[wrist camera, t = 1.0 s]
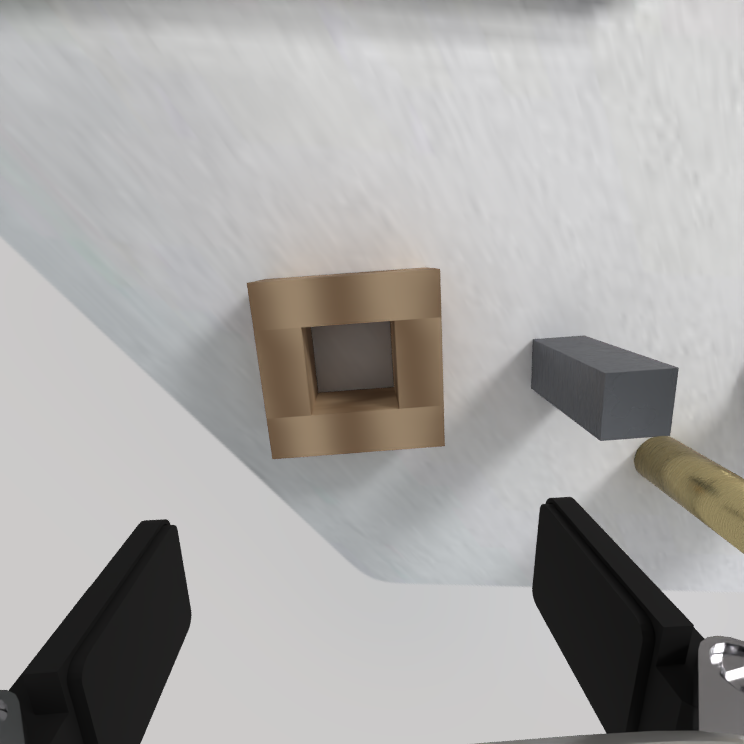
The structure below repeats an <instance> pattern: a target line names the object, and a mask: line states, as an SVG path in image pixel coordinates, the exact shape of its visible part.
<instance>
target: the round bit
mask: <svg viewBox="0 0 744 744" xmlns="http://www.w3.org/2000/svg"><path fill="white" fill-rule="evenodd" d="M634 463H635V467H636V470H637V471H638V472H639V473H640V474H641V475H642V476H643V477H645V478H646V479H647V480H648V481H650V482H651V483H652V484H654V485H655V486H656V487H658V488H659V489H660V490H662V491H663V492H664V493H665V494H667V495H668V496H669V497H671V498H672V499H673V500H675V501H676V502H677V503H678V504H680V505H681V506H682V507H684V508H685V509H686V510H688V511H689V512H690V513H691V514H693V515H694V516H695V517H697V518H698V519H699V520H701V521H702V522H703V523H704V524H706V525H707V526H708V527H710V528H711V529H712V530H714V531H715V532H716V533H717V534H719V535H720V536H721V537H723V538H724V539H725V540H727V541H728V542H729V543H731V544H732V545H733V546H734V547H736V548H737V549H738V550H740V551H741V552H742V553H744V479H743V478H742V477H740V476H738V475H736V474H735V473H733V472H731V471H729V470H728V469H726V468H724V467H722V466H721V465H719V464H717V463H715V462H714V461H712V460H710V459H708V458H707V457H705V456H703V455H701V454H700V453H698V452H696V451H694V450H693V449H691V448H689V447H687V446H686V445H684V444H682V443H680V442H679V441H677V440H675V439H673V438H672V437H669V436H657V437H653V438H650V439H648V440H647V441H645V442H644V443H643V444H642V445H641V446H640V447H639V449H638V450H637V452H636V455H635V459H634Z"/></svg>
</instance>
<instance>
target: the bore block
mask: <svg viewBox="0 0 744 744" xmlns="http://www.w3.org/2000/svg"><path fill="white" fill-rule="evenodd" d="M247 288H248V295H249V301H250V308H251V315H252V322H253V329H254V336H255V342H256V349H257V356H258V363H259V370H260V377H261V383H262V390H263V397H264V404H265V411H266V418H267V425H268V431H269V438H270V445H271V452H272V459H281V458H294V457H308V456H321V455H334V454H347V453H360V452H373V451H386V450H399V449H412V448H426V447H439V446H445V437H444V400H443V362H442V325H441V287H440V269H436V268H428V267H427V268H414V269H400V270H386V271H372V272H359V273H345V274H331V275H318V276H304V277H290V278H277V279H264V280H259V281H255V282H250V283H247ZM383 321H390V331H391V348H392V365H393V382H394V387H387V388H374V389H360V390H347V391H334V392H320V393H318V386H317V377H316V367H315V358H314V349H313V340H312V331H311V327H315V326H328V325H342V324H356V323H369V322H383Z"/></svg>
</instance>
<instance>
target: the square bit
mask: <svg viewBox="0 0 744 744" xmlns="http://www.w3.org/2000/svg"><path fill="white" fill-rule="evenodd" d="M678 369H679V368H678V367H675V366H672V365H669V364H666V363H663V362H660V361H657V360H654V359H651V358H648V357H645V356H642V355H639V354H636V353H634V352H631V351H628V350H625V349H622V348H619V347H616V346H613V345H610V344H607V343H604V342H601V341H598V340H595V339H592V338H590V337H587V336H572V337H559V338H545V339H533V349H532V381H531V389H533V390H534V391H535V392H537V393H538V394H539V395H541V396H542V397H543V398H544V399H546V400H547V401H548V402H550V403H551V404H552V405H554V406H555V407H556V408H558V409H559V410H560V411H562V412H563V413H564V414H566V415H567V416H568V417H570V418H571V419H572V420H574V421H575V422H576V423H577V424H579V425H580V426H581V427H583V428H584V429H585V430H587V431H588V432H589V433H591V434H592V435H593V436H595V437H596V438H597V439H599V440H600V441H604V440H618V439H631V438H644V437H657V436H670V432H671V424H672V416H673V408H674V400H675V392H676V384H677V377H678Z"/></svg>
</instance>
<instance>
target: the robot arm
mask: <svg viewBox="0 0 744 744" xmlns="http://www.w3.org/2000/svg"><path fill="white" fill-rule="evenodd" d="M532 589H533V590H532V592H533V598H534V601H535V603H536V606H537V608H538V609H539V611H540V613H541V615H542V617H543V618H544V620H545V622H546V624H547V626H548V628H549V629H550V631H551V633H552V635H553V637H554V638H555V640H556V642H557V644H558V646H559V648H560V649H561V651H562V653H563V655H564V657H565V658H566V660H567V662H568V664H569V666H570V668H571V669H572V671H573V673H574V675H575V677H576V678H577V680H578V682H579V684H580V686H581V687H582V689H583V691H584V693H585V695H586V697H587V698H588V700H589V702H590V704H591V706H592V708H593V709H594V711H595V713H596V715H597V717H598V718H599V720H600V722H601V724H602V726H603V727H604V729H605V731H606V733H607V734H593V735H577V736H565V737H552V738H540V739H527V740H514V741H502V742H490V743H477V744H744V641H741V640H738V639H734V638H731V637H724V636H713V637H707V638H706V639H704V638H703V637H702V636H701V635H700V634H699V632H698V631H697V630H696V629H695V628H694V627H693V626H694V625H693V624H692V623H691V622H690V621H689V620H688V619H687V618H686V617H685V615H684V614H683V613H682V612H681V611H680V610H679V609H678V608H677V607H676V606H675V605H674V604H673V603H672V602H671V601H670V600H669V599H668V598H667V597H666V595H664V593H663V592H662V591H661V590H660V589H659V588H658V587H657V586H656V585H655V584H654V583H653V582H652V581H651V580H650V579H649V578H648V576H647V575H646V574H645V573H644V572H643V571H642V570H641V569H640V568H639V567H638V566H637V565H636V564H635V563H634V562H633V561H632V560H631V559H630V558H629V556H628V555H627V554H626V553H625V552H624V551H623V550H622V549H621V548H620V547H619V546H618V545H617V544H616V543H615V542H614V541H613V540H612V539H611V538H610V536H609V535H608V534H607V533H606V532H605V531H604V530H603V529H602V528H601V527H600V526H599V525H598V524H597V523H596V522H595V521H594V520H593V519H592V518H591V516H590V515H589V514H588V513H587V512H586V511H585V510H584V509H583V508H582V507H581V506H580V505H579V504H578V503H577V502H576V501H575V500H574V499H573V498H572V497H561V498H549V499H547V501H546V504H542V505H541V507H540V513H539V524H538V534H537V545H536V555H535V566H534V576H533V587H532ZM190 622H191V607H190V602H189V595H188V590H187V583H186V577H185V572H184V566H183V560H182V554H181V548H180V542H179V536H178V530H177V527H176V526H175V525H170V523H169V521H168V520H166V519H165V520H149V521H148V520H146V521H142V522H141V523H140V524H139V525H138V526H137V527H136V529H135V530H134V531H133V532H132V534H131V535H130V536H129V538H128V539H127V540H126V541H125V543H124V544H123V545H122V547H121V548H120V549H119V551H118V552H117V553H116V554H115V556H114V557H113V558H112V560H111V561H110V562H109V563H108V565H107V566H106V567H105V568H104V570H103V571H102V572H101V574H100V575H99V576H98V578H97V579H96V580H95V581H94V582H93V584H92V585H91V586H90V587H89V588H88V590H87V591H86V592H85V593H84V595H83V596H82V597H81V598H80V600H79V601H78V602H77V604H76V605H75V606H74V607H73V609H72V610H71V611H70V613H69V614H68V615H67V616H66V618H65V619H64V620H63V622H62V623H61V624H60V625H59V627H58V628H57V629H56V631H55V632H54V633H53V634H52V636H51V637H50V638H49V640H48V641H47V642H46V644H45V645H44V646H43V647H42V649H41V650H40V651H39V652H38V654H37V655H36V656H35V657H34V659H33V660H32V661H31V663H30V664H29V665H28V666H27V668H26V669H25V670H24V672H23V673H22V674H21V675H20V677H19V678H18V679H17V681H16V682H15V683H14V684H13V686H12V687H11V688H10V690H9V691H8V690H0V744H140V743H141V741H142V738H143V736H144V734H145V731H146V729H147V727H148V724H149V722H150V719H151V717H152V715H153V712H154V710H155V708H156V705H157V703H158V701H159V698H160V696H161V693H162V691H163V689H164V686H165V684H166V682H167V679H168V677H169V675H170V672H171V670H172V667H173V665H174V663H175V660H176V658H177V656H178V653H179V651H180V649H181V646H182V644H183V641H184V639H185V637H186V634H187V632H188V630H189V627H190Z"/></svg>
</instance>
